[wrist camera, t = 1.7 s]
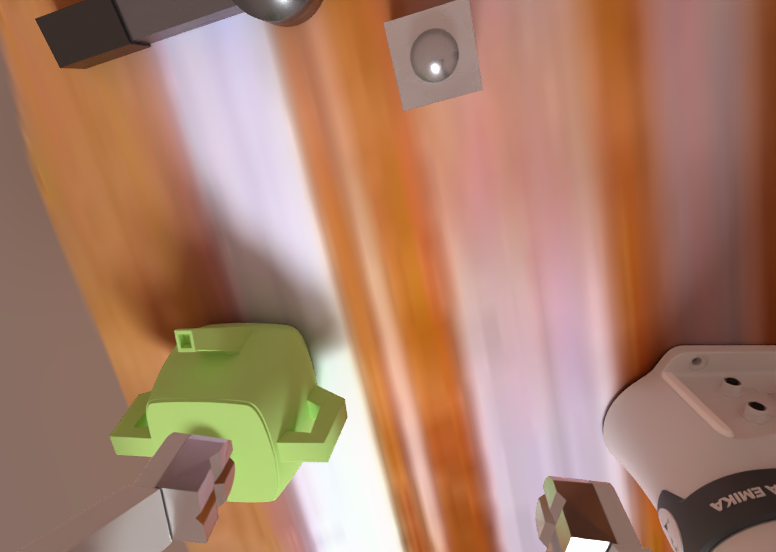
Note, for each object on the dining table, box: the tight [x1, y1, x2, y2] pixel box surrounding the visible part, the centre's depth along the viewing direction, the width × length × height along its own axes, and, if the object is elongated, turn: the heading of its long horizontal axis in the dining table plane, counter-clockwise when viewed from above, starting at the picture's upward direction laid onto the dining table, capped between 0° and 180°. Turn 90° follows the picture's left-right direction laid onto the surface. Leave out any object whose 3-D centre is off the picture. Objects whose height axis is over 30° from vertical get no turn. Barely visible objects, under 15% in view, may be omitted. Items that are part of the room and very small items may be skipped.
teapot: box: [110, 323, 347, 502], centre depth 38 cm, size 18×20×13 cm
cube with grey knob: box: [384, 0, 483, 111], centre depth 28 cm, size 5×5×7 cm
